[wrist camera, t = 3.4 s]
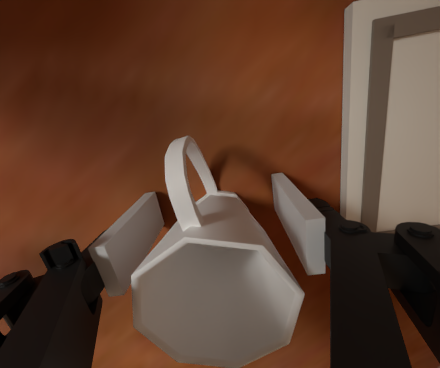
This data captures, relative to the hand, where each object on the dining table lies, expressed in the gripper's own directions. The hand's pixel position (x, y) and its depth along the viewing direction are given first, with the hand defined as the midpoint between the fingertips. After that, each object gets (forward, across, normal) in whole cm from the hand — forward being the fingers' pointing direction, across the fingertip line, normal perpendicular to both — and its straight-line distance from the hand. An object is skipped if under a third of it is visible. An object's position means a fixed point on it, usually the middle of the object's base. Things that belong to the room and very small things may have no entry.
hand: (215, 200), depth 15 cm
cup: (0, 0, 0) cm, 0 cm away
